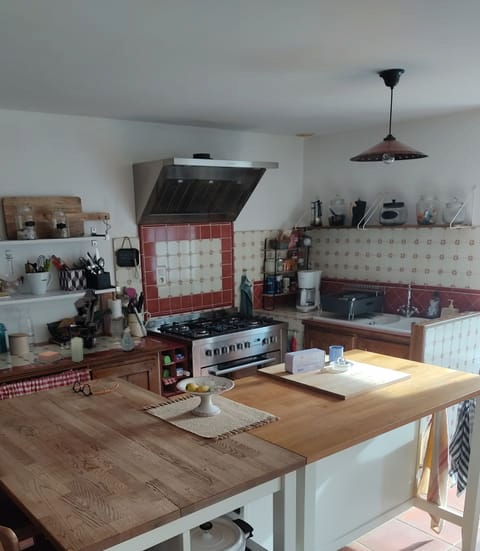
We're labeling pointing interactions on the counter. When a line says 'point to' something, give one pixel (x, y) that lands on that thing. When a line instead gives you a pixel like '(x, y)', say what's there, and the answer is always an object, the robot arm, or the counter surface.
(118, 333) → the coffee box
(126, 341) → the toy figure
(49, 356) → the tower base
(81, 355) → the column brick
